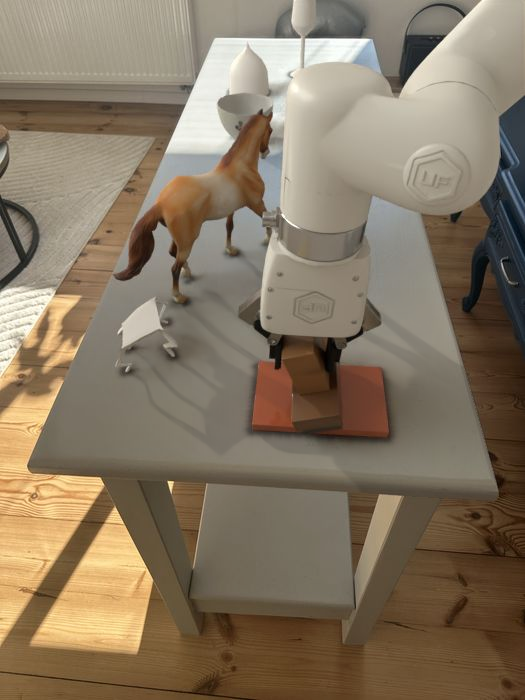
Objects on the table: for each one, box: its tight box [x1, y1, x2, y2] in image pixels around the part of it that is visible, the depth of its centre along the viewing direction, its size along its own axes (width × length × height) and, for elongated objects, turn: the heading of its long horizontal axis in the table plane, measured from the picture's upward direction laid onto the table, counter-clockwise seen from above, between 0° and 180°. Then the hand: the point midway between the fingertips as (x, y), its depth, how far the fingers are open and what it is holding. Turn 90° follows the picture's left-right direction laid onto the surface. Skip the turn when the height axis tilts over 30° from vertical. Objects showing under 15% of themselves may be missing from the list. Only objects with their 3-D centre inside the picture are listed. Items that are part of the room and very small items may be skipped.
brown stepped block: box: [282, 334, 343, 435], centre depth 56 cm, size 13×5×10 cm, turn 176°
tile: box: [251, 360, 390, 438], centre depth 60 cm, size 16×10×1 cm, turn 86°
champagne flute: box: [289, 0, 317, 78], centre depth 131 cm, size 7×7×24 cm
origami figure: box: [114, 296, 179, 373], centre depth 66 cm, size 12×8×5 cm
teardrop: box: [228, 41, 270, 97], centre depth 127 cm, size 11×11×12 cm
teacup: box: [216, 92, 274, 142], centre depth 110 cm, size 15×12×8 cm
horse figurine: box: [111, 109, 274, 305], centre depth 71 cm, size 31×8×21 cm, turn 134°
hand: (303, 360), depth 55 cm, fingers closed on brown stepped block, 5 cm apart
